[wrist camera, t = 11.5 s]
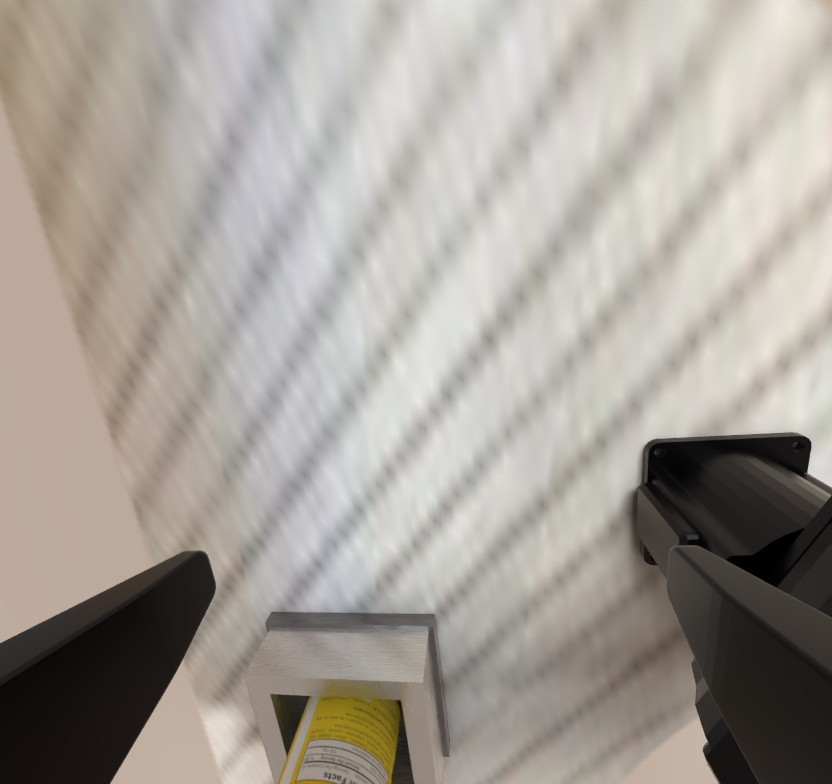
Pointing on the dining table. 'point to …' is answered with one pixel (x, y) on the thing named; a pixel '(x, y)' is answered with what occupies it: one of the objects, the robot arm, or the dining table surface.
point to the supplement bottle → (344, 742)
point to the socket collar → (353, 681)
